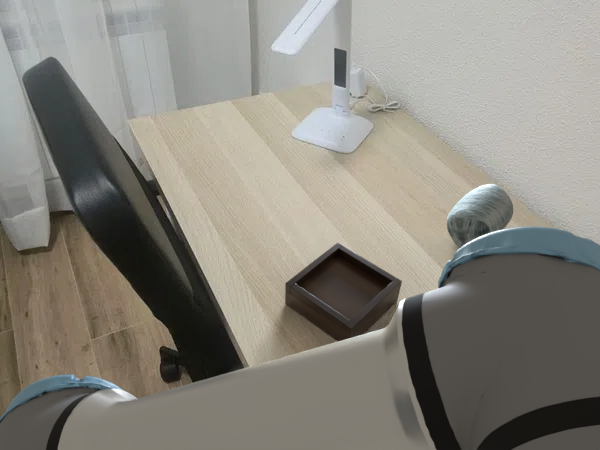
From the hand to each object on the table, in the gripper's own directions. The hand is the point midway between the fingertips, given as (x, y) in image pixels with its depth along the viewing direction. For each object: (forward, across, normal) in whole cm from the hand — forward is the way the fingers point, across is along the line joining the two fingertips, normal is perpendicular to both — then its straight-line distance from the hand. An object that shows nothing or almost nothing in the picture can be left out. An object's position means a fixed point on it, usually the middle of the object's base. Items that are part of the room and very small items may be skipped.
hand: (519, 371), depth 66 cm
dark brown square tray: (+26, -1, -7) cm, 27 cm away
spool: (+19, +27, -7) cm, 34 cm away
